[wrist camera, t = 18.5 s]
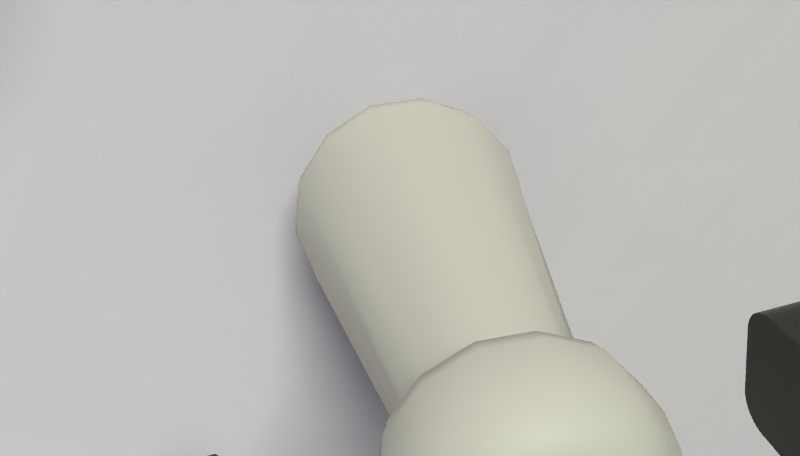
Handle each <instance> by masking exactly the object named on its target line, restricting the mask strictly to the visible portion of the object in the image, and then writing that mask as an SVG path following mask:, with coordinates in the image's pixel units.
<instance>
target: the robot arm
mask: <svg viewBox="0 0 800 456" xmlns="http://www.w3.org/2000/svg"><path fill="white" fill-rule="evenodd" d="M745 396H746V401H747V405H748V409H749V412H750V414H751V416H752V419H753V421H754V423H755V424H756V426H757V428H758V429H759V431H760V432H761V433H762V435H763V436H764V437H765V438H766V439H767V441H768V442H769V443H770V444H771V445H772V446H773V448H774V449H775V450H776V451H777V452H778V453H779V455H780V456H800V302H796V303H792V304H789V305H785V306H781V307H777V308H773V309H770V310H766V311H762V312H758V313H755V314H753V315H752V316H751V318H750V319H749V323H748V337H747V359H746V381H745ZM209 456H218V455H216V454H213V455H209Z"/></svg>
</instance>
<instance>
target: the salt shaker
mask: <svg viewBox="0 0 800 456" xmlns="http://www.w3.org/2000/svg"><path fill="white" fill-rule="evenodd" d="M296 233H297V236H298V238H299V240H300V242H301V245H302V247H303V249H304V252H305V254H306V256H307V258H308V261H309V263H310V265H311V268H312V270H313V272H314V274H315V276H316V278H317V280H318V282H319V284H320V286H321V288H322V290H323V291H324V293H325V295H326V297H327V299H328V301H329V303H330V305H331V306H332V308H333V310H334V312H335V314H336V316H337V318H338V320H339V322H340V323H341V325H342V327H343V329H344V331H345V333H346V335H347V337H348V338H349V340H350V342H351V344H352V346H353V348H354V350H355V352H356V354H357V355H358V357H359V359H360V361H361V363H362V365H363V367H364V369H365V371H366V372H367V374H368V376H369V378H370V380H371V382H372V384H373V386H374V387H375V389H376V391H377V393H378V395H379V397H380V399H381V401H382V403H383V404H384V406H385V408H386V410H387V412H388V414H389V416H390V417H389V418H388V419H387V421H386V425H385V428H384V431H383V435H382V443H381V451H380V456H682V452H681V448H680V446H679V444H678V442H677V439H676V437H675V435H674V433H673V430H672V428H671V426H670V424H669V421H668V419H667V417H666V415H665V412H664V411H663V410H662V408H661V407H660V406H659V405H658V404H657V402H656V401H655V400H654V399H653V398H652V396H651V395H650V394H649V393H648V392H647V390H646V389H645V388H644V387H643V385H642V384H641V383H640V382H639V381H638V380H636V379H635V378H634V377H633V376H632V375H631V374H630V373H629V372H628V371H627V370H626V369H625V368H624V367H622V366H621V365H620V364H619V363H618V362H617V361H616V360H615V359H614V358H613V357H612V356H611V355H610V354H608V353H607V352H606V351H605V350H604V349H602V348H600V347H599V346H597V345H595V344H593V343H592V342H588V341H583V340H578V339H574V338H573V336H572V334H571V331H570V328H569V325H568V323H567V320H566V317H565V314H564V312H563V309H562V306H561V303H560V300H559V298H558V295H557V292H556V289H555V287H554V284H553V281H552V278H551V276H550V273H549V270H548V267H547V264H546V262H545V259H544V256H543V253H542V251H541V248H540V245H539V242H538V239H537V237H536V234H535V231H534V228H533V226H532V223H531V220H530V217H529V214H528V211H527V207H526V204H525V201H524V198H523V195H522V191H521V188H520V185H519V182H518V179H517V176H516V172H515V169H514V166H513V163H512V160H511V157H510V153H509V151H508V150H507V149H506V148H505V147H504V146H503V145H502V144H501V143H500V142H499V141H498V140H497V139H496V138H495V137H494V135H493V134H492V133H491V132H490V131H489V130H488V129H487V128H486V127H485V126H484V125H483V124H482V123H481V122H480V121H479V120H478V119H477V118H476V117H475V116H473V115H471V114H469V113H467V112H464V111H461V110H457V109H454V108H451V107H447V106H444V105H441V104H437V103H434V102H431V101H427V100H424V99H416V100H409V101H402V102H394V103H387V104H380V105H373V106H369V107H367V108H366V109H365V110H363V111H362V112H360V113H359V114H357V115H356V116H354V117H353V118H351V119H350V120H348V121H347V122H346V123H344V124H343V125H341V126H340V127H338V128H337V129H335V130H334V131H332V132H331V133H329V134H328V135H327V136H326V138H325V140H324V141H323V143H322V144H321V146H320V147H319V149H318V151H317V152H316V154H315V155H314V157H313V158H312V160H311V162H310V163H309V165H308V166H307V168H306V169H305V171H304V173H303V174H302V176H301V178H300V181H299V183H298V199H297V225H296Z"/></svg>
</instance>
